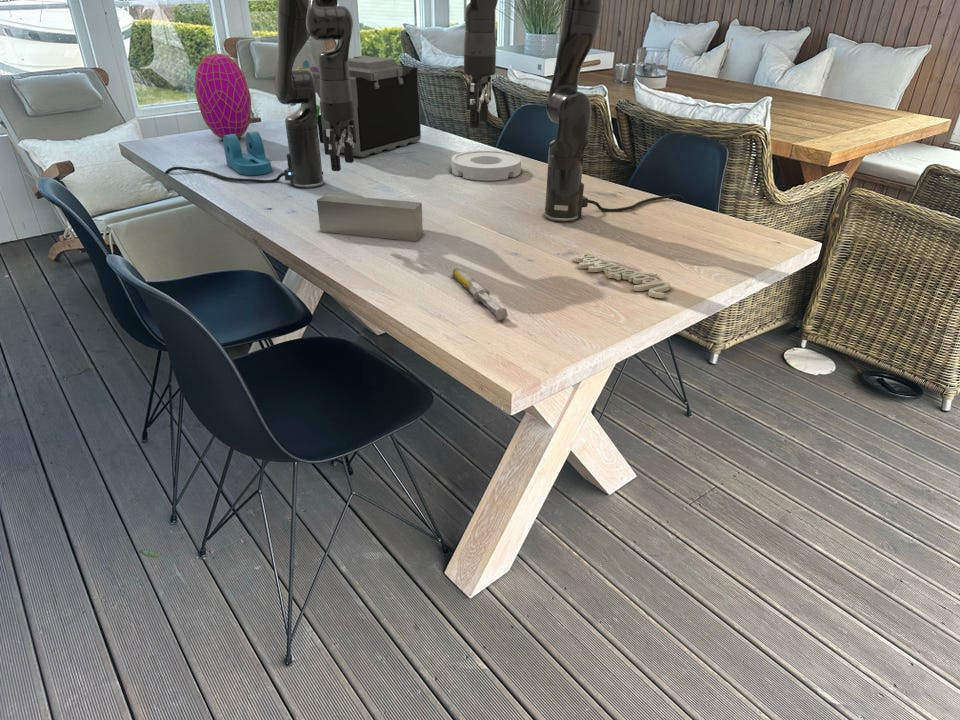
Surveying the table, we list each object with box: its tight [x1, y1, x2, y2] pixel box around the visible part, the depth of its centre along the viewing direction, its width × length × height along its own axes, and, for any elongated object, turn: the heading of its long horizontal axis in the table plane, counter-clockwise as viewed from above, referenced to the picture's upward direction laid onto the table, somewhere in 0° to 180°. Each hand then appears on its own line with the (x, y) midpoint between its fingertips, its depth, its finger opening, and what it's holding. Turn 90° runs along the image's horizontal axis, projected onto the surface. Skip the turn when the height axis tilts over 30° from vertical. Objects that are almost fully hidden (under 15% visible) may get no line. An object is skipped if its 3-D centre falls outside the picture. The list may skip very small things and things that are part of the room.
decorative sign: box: [574, 252, 671, 299], centre depth 155 cm, size 26×1×10 cm
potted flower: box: [296, 59, 320, 124], centre depth 286 cm, size 9×8×25 cm
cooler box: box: [311, 55, 422, 159], centre depth 250 cm, size 37×22×30 cm, turn 144°
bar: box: [316, 193, 424, 242], centre depth 176 cm, size 26×5×8 cm, turn 76°
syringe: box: [452, 266, 509, 321], centre depth 145 cm, size 25×4×3 cm, turn 21°
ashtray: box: [451, 149, 522, 182], centre depth 228 cm, size 23×23×4 cm
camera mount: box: [222, 131, 272, 176], centre depth 226 cm, size 18×10×10 cm, turn 35°
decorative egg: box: [194, 53, 252, 140], centre depth 258 cm, size 19×19×30 cm
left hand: (343, 166), depth 173 cm, fingers open, 8 cm apart
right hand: (479, 124), depth 169 cm, fingers open, 8 cm apart
